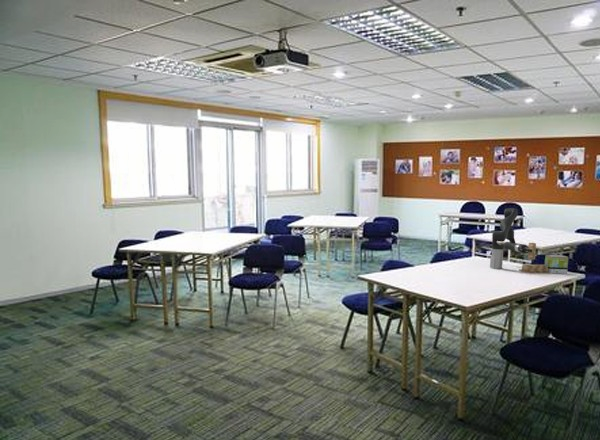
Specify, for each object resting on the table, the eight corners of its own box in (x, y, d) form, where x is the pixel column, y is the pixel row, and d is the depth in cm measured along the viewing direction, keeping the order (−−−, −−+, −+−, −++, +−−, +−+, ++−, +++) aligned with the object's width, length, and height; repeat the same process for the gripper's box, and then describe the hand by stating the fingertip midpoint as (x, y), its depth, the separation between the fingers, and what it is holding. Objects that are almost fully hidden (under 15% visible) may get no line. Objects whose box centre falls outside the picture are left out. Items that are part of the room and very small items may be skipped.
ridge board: (529, 273, 386) (529, 266, 386) (519, 270, 399) (519, 263, 399) (550, 273, 390) (550, 266, 389) (539, 270, 403) (540, 263, 402)
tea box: (551, 273, 390) (552, 256, 389) (543, 271, 400) (544, 254, 399) (567, 273, 392) (568, 256, 391) (559, 271, 402) (560, 254, 401)
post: (530, 259, 397) (531, 243, 396) (527, 258, 401) (528, 242, 400) (535, 259, 398) (536, 243, 397) (531, 258, 401) (532, 242, 401)
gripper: (514, 244, 411) (527, 246, 394) (528, 244, 414) (541, 246, 397) (513, 252, 412) (526, 255, 395) (528, 252, 414) (541, 255, 397)
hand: (534, 250), depth 396 cm, fingers closed on post, 4 cm apart
